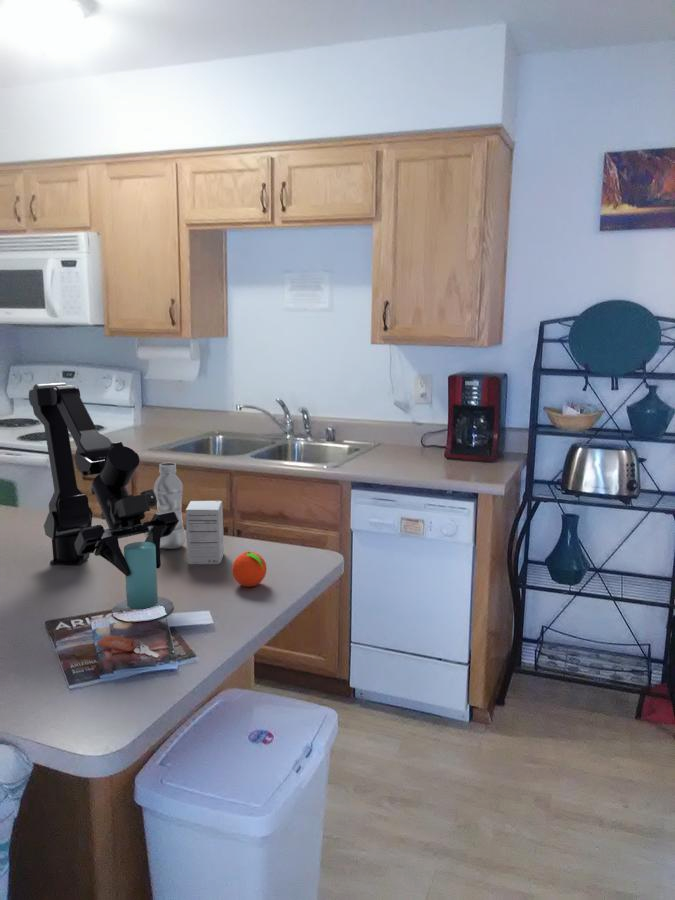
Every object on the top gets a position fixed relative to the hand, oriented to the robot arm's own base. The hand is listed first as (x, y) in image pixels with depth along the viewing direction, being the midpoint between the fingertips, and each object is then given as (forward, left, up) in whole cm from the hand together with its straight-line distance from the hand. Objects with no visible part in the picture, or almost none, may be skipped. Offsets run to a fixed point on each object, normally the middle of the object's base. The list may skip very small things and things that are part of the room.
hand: (144, 571), depth 130 cm
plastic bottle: (-6, +36, -8) cm, 37 cm away
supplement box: (+4, +29, -8) cm, 30 cm away
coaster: (-1, +1, -8) cm, 8 cm away
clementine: (+17, +14, -8) cm, 23 cm away
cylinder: (-1, +1, -7) cm, 7 cm away
